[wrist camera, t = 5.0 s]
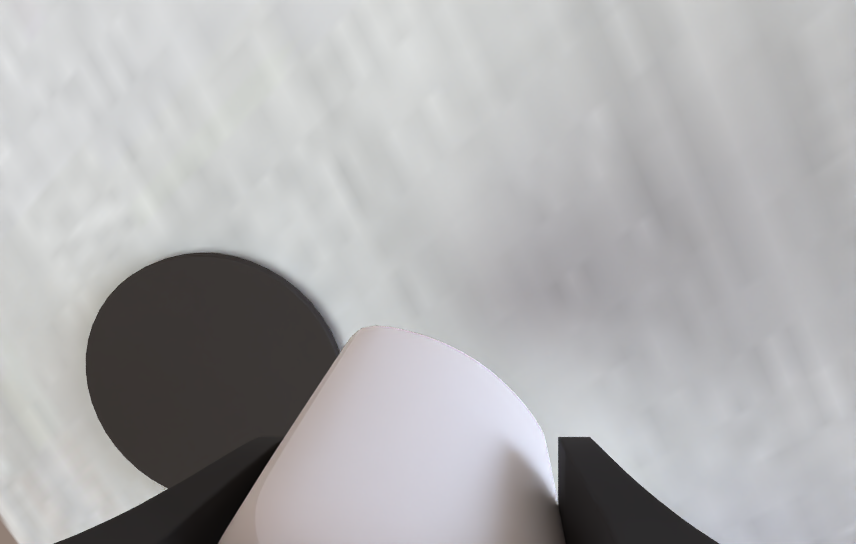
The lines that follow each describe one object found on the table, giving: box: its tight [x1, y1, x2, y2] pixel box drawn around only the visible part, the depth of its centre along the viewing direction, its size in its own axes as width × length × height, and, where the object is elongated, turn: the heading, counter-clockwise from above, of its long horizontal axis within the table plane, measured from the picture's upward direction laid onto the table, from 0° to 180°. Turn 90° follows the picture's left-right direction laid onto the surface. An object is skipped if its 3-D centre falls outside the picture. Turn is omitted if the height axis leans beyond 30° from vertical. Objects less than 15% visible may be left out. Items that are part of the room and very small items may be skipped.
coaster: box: [86, 253, 340, 489], centre depth 22 cm, size 10×10×1 cm
